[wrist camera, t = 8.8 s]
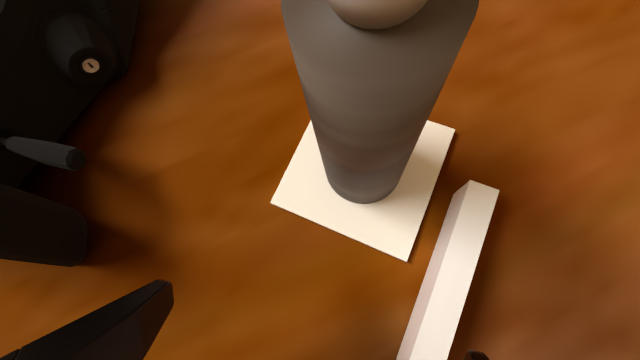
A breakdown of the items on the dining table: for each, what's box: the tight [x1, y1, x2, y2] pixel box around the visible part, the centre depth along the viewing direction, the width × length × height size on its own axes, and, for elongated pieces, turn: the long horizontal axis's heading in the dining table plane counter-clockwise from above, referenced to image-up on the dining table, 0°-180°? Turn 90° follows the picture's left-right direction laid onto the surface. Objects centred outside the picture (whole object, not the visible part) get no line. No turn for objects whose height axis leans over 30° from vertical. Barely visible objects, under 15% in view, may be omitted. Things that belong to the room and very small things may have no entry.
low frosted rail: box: [396, 180, 500, 360], centre depth 16 cm, size 15×2×3 cm, turn 156°
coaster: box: [270, 120, 455, 262], centre depth 20 cm, size 9×9×1 cm
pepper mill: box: [281, 0, 479, 204], centre depth 13 cm, size 5×5×15 cm
